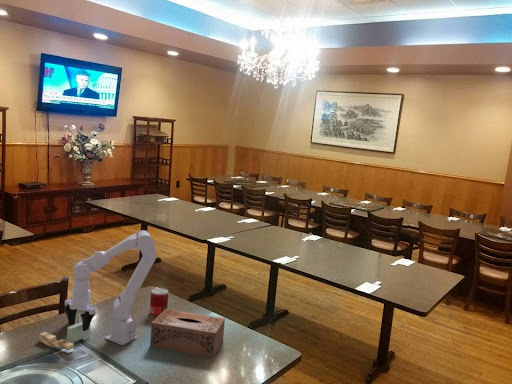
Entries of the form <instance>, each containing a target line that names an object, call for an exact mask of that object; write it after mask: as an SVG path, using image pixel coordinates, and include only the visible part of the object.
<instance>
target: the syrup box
mask: <svg viewBox="0 0 512 384" xmlns="http://www.w3.org/2000/svg"><path fill="white" fill-rule="evenodd" d="M72 293H73V289H71V300H72ZM91 295H92V291H91V290H90V289H89V295H88V303H89V304H90V305H91V299H92V298H91V297H92V296H91ZM83 313H85V311H82V310H77V313H76V321H75V324H77V323H80V322H82V318H81V316H80V314H83ZM75 324H73V325H75Z"/></svg>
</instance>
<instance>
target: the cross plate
mask: <svg viewBox="0 0 512 384" xmlns="http://www.w3.org/2000/svg"><path fill="white" fill-rule="evenodd" d="M66 329H67V330H66V336H67V337H66V341H68V342H70V343H71V342H73V341H76V342H77V339H79V338H80V340H82V339H83V340H82V341H86V340H89V339H90V338H91V337H90V336H91V325H90V326H89V329H88V330H86V331H83V327H82V322H80V323H77V324H75V325H74V324H73V325H69V326H67V328H66Z"/></svg>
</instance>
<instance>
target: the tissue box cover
mask: <svg viewBox="0 0 512 384" xmlns="http://www.w3.org/2000/svg"><path fill="white" fill-rule="evenodd" d="M225 322H226V318H224V317H218V316H213V315H206V314H201V313H200V314H199V313H195V312H194V313H193V312H187V311H181V310H174V309H170V308H169V309H168V308H167V309H165V310H164V311H163V312H162V313H161V314H160V315H159V316H158V317H155V319H154V320H152V322H151V325H150V327H151V328H150V343H149V347H152V348H157V349H161V350H162V349H163V350H169V351H174V352H181V353H187V354H190V355H191V354H192V355H196V356H203V357H209V358H212V359H214V358H215V356H216V354H217V352H218V351H219V349H220V347H221V346H222V344H223V342H224V332H225ZM221 343H222V344H221Z"/></svg>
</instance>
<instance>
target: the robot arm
mask: <svg viewBox="0 0 512 384" xmlns="http://www.w3.org/2000/svg"><path fill="white" fill-rule="evenodd" d="M137 248H138V249H139V251H140V252H141V255H142V257H141V258H140V260H139V262H138V263H137V266H136V268H135V270H134V271H133V273H132V275H131V277H130V278H129V280H128V282H127V284H126V286H125V287H124V289H123V291H122V292H120V294H119V295H118V296H117V297H116V298H115V299H114V300H113V301H112V303H111V304H112V309H113V312H112V314H111V317H110V333H109V335H107V336H105V337H104V338H105V340H108V341H111V342H113V343H114V344H115V343H116V344H118V345H121V346H124V345H126V344H128V343H130V342H132V341H133V340H136V339H137V338H138V337H137V336H136V332H137V331H136V330H137V323H136V321H135V320H133V319H132V317H131V309H132V307H133V304H134V300H135V297H136V295H137V294H138V291H139V290H140V288H141V286H142V285H143V283H144V281H145V279H146V278H147V276H148V274H149V272H150V270H151V269H152V266H153V265H154V264H155V261H156V259H157V254H156V243H155V241H154V239H153V237H152V236H151V233H150V232H149V231H147V230H144V229H142V230H139V231H137V232H136V233H132V234H130V235H129V236H128V237H126V238H124V239H123V240H122V241H120V242H118V243H117V244H116V245H114V246H112V247H111V248H109V249H107V250H106V251H103V250H99V251H97V250H96V251H94V253H93V255H91V256H89V257H87V258H83V259H82V261H81V260H80V261H78V262H77V263H75V264H74V266H73V271H72V272H73V282H72V290H73V293H72V292H71V294H72V300H71V299H70V298H68V299H65V300H64V306H65V307H63V311H64V312H65V314H66V317H67V321H68V325H69V326H72V325H74V324H75V321H76V313H77V310H82V311H85V313H83V314H80V316H81V318H82V327H83V331H86V330H88V329H89V326H90V327H91V323H92V320H93V319H94V318H95V315H96V314H97V312H96V307H93V306H92V305H91V303H90V304H89V303H88V295H89V290H90V280H89V279H90V275H91V274H92V273H94V272H96V271H98V270H99V269H102V268H103V267H104V266H107V265H108V264H109V262H110V260H111V259H112V258H114V257H116V256H118V255H120V254H122V253H124V252H125V251H127V250H134V251H137Z"/></svg>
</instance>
